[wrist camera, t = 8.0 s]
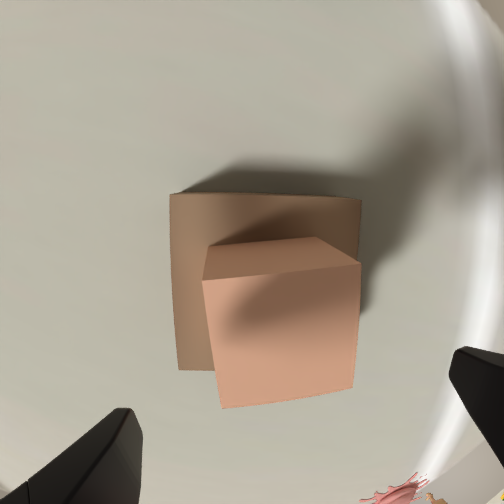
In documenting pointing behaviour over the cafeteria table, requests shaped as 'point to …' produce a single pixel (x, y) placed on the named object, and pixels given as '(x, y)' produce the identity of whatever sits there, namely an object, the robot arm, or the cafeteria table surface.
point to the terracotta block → (281, 319)
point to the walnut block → (241, 231)
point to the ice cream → (403, 494)
